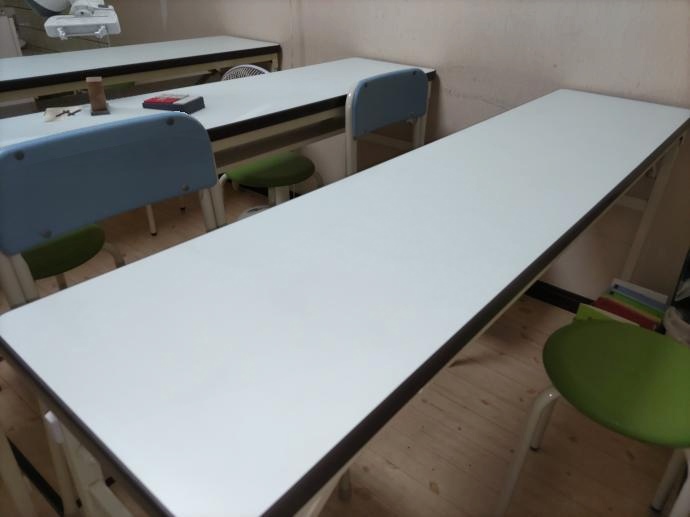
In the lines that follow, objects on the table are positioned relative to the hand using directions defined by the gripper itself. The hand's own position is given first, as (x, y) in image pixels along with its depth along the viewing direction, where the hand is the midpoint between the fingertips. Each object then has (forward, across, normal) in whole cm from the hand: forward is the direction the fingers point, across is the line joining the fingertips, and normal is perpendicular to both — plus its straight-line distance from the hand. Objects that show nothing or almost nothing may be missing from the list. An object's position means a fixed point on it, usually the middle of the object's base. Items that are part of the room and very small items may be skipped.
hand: (80, 36), depth 145 cm
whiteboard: (+12, -4, +18) cm, 22 cm away
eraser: (+11, +1, +18) cm, 21 cm away
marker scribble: (+12, -7, +17) cm, 22 cm away
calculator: (+9, +22, +20) cm, 31 cm away
